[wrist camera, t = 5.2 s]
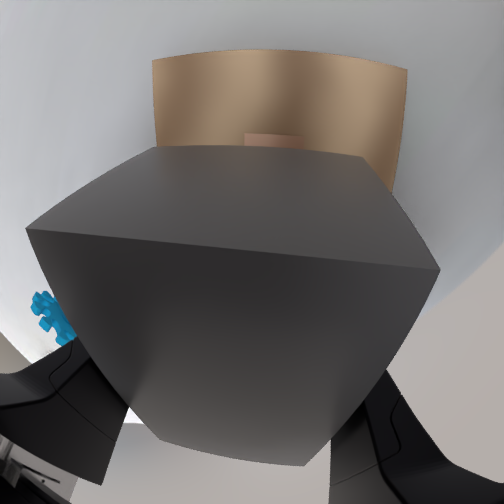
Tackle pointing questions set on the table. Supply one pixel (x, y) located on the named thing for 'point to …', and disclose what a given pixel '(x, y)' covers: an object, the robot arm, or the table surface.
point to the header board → (283, 103)
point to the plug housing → (238, 291)
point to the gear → (52, 317)
